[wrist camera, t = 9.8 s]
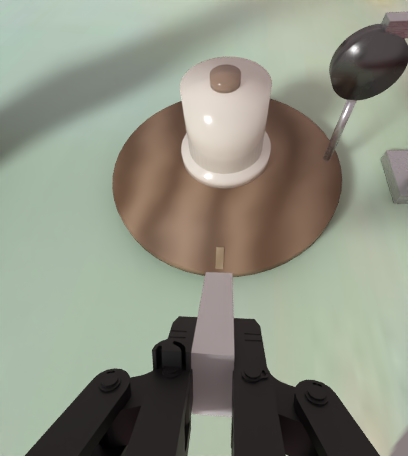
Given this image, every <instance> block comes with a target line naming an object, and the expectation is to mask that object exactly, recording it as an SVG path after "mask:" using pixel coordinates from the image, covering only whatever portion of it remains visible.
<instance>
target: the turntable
mask: <svg viewBox="0 0 408 456" xmlns="http://www.w3.org/2000/svg"><path fill="white" fill-rule="evenodd" d="M265 131H266V133H267V134H268V136H269V139H270V142H271V151H270V157H269V161H268V165H267V167H266V169H265V170H264V172H263V173H262V174H261V175H260V176H259V177H258V178H257V179H255V180H254V181H252V182H250V183H248V184H246V185H243V186H240V187H236V188H228V189H221V188H214V187H210V186H207V185H204V184H202V183H200V182H198V181H197V180H195V179H194V178H193V177H192V176H191V175H190V174H189V173H188V172H187V170H186V168H185V166H184V163H183V158H182V153H181V146H182V141H183V139H184V136H185V135H186V133H187V132H186V125H185V119H184V113H183V106H182V101H180V102H178V103H175V104H173V105H171V106H168V107H167V108H165V109H163V110H161V111H159V112H157V113H156V114H154V115H153V116H152V117H150V118H149V119H147V120H146V121H145V122H144V123H143V124H141V125H140V126H139V127H138V128H137V129H136V130H135V131H134V132H133V134H132V135H131V136H130V137H129V139H128V140H127V141H126V143H125V144H124V146H123V148H122V150H121V152H120V153H119V156H118V158H117V161H116V164H115V168H114V173H113V195H114V201H115V204H116V207H117V210H118V213H119V214H120V216H121V218H122V220H123V222H124V224H125V226H126V227H127V229H128V230H129V232H130V233H131V234H132V236H133V237H134V238H135V240H136V241H137V242H138V243H139V244H140V245H141V246H142V247H143V248H144V249H145V250H146V251H148V252H149V253H151V254H152V255H153V256H155V257H156V258H157V259H159V260H161V261H163V262H165V263H167V264H168V265H170V266H173V267H175V268H178V269H181V270H183V271H186V272H190V273H194V274H199V275H204V276H205V274H206V272H217V273H232V275H233V277H239V276H245V275H252V274H257V273H260V272H264V271H267V270H271V269H273V268H275V267H278V266H280V265H282V264H285V263H287V262H288V261H290V260H292V259H293V258H295V257H297V256H298V255H300V254H301V253H302V252H304V251H305V250H306V249H307V248H308V247H310V246H311V245H312V244H313V243H314V242H315V241H316V239H317V238H318V237H319V236H320V235H321V234H322V232H323V231H324V229H325V227H326V226H327V224H328V223H329V221H330V220H331V218H332V216H333V214H334V212H335V210H336V207H337V205H338V203H339V198H340V194H341V188H342V174H341V166H340V163H339V159H338V156H337V153H336V151H335V150H334V152H333V154H332V156H331V158H330V160H329V161H324V160H323V157H324V154H325V152H326V149H327V147H328V145H329V142H330V140H329V139H328V138H327V136H326V135H325V133H324V132H323V131H322V130H321V129H320V128H319V127H318V126H317V125H316V124H315V123H314V122H313V121H311V120H310V119H309V118H308V117H306V116H305V115H303V114H302V113H300V112H299V111H297V110H295V109H294V108H292V107H290V106H288V105H286V104H283V103H281V102H278V101H276V100H272V99H270V101H269V108H268V114H267V121H266V128H265Z"/></svg>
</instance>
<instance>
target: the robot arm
mask: <svg viewBox="0 0 408 456" xmlns="http://www.w3.org/2000/svg"><path fill="white" fill-rule="evenodd" d="M152 356H153V371H151V372H149V373H147V374H145V375H141V376H136V377H131V378H130V376H129V375H128V373H127V372H126V371H124V370H122V369H109V370H106V371H104V372H102V373H100V374H98V375H97V376H96V377H95V378H94V379H93V380H92V381H91V382H90V383H89V384H88V385H87V387H86V388H85V389H84V390H83V391H82V392H81V393H80V394H79V396H78V397H77V398H76V399H75V400H74V401H73V402H72V403H71V404H70V406H69V407H68V408H67V409H66V410H65V411H64V412H63V413H62V415H61V416H60V417H59V418H58V419H57V420H56V421H55V422H54V424H53V425H52V426H51V427H50V428H49V429H48V430H47V431H46V432H45V434H44V435H43V436H42V437H41V438H40V439H39V440H38V441H37V443H36V444H35V445H34V446H33V447H32V448H31V449H30V450H29V451H28V453H27V454H26V455H25V456H187V454H188V447H189V439H190V432H191V412H192V414H199V415H213V416H226V417H232V429H231V448H232V456H286V455H288V456H380V455H379V454H378V452H377V451H376V450H375V448H374V447H373V445H372V444H371V443H370V441H369V440H368V438H367V437H366V436H365V434H364V433H363V431H362V430H361V429H360V427H359V426H358V424H357V423H356V422H355V420H354V419H353V417H352V416H351V414H350V413H349V412H348V410H347V409H346V407H345V406H344V405H343V403H342V402H341V400H340V399H339V398H338V396H337V395H336V393H335V392H334V391H333V390H332V389H331V388H330V387H328V386H327V385H325V384H323V383H322V382H318V381H315V380H304V381H301V382H299V383H298V384H297V385H296V387H293V386H290V385H287V384H285V383H282V382H280V381H278V380H277V379H275V378H274V377H273V376H272V375H271V374H270V372H269V370H268V368H267V364H266V359H265V353H264V347H263V342H262V336H261V329H260V325H259V324H258V323H257V322H256V321H255V319H240V318H234V316H233V275H232V273H217V272H206V274H205V280H204V285H203V290H202V296H201V301H200V307H199V312H198V317H181V316H179V317H178V318H177V319H176V320H175V321H174V322H173V324H172V327H171V330H170V333H169V337H168V339H166V340H163V341H161V342H159V343H158V344H156V345H155V346H154V348H153V349H152ZM285 454H286V455H285Z"/></svg>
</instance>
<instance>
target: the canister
mask: <svg viewBox="0 0 408 456" xmlns="http://www.w3.org/2000/svg"><path fill="white" fill-rule="evenodd" d="M271 87H272V80H271V77H270V75H269V73H268V72H267V71H266V70H265V69H264V68H263V67H262V66H261V65H259V64H257V63H256V62H253V61H251V60H248V59H244V58H239V57H218V58H213V59H209V60H206V61H203V62H201V63H199V64H197V65H195V66H193V67H192V68H191V69H189V70H188V71H187V72H186V74H185V75H184V76H183V78H182V80H181V83H180V93H181V100H182V106H183V113H184V119H185V125H186V132H187V133H186V135H185V136H184V139H183V141H182V146H181V153H182V158H183V163H184V166H185V168H186V170H187V172H188V173H189V174H190V175H191V176H192V177H193V178H194V179H195V180H197V181H198V182H200V183H202V184H204V185H207V186H210V187H214V188H221V189H228V188H236V187H240V186H243V185H246V184H248V183H250V182H252V181H254V180H255V179H257V178H258V177H259V176H260V175H261V174H262V173H263V172H264V170H265V169H266V167H267V165H268V161H269V157H270V151H271V142H270V139H269V136H268V134H267V133H266V131H265V128H266V121H267V114H268V108H269V101H270V94H271Z"/></svg>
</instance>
